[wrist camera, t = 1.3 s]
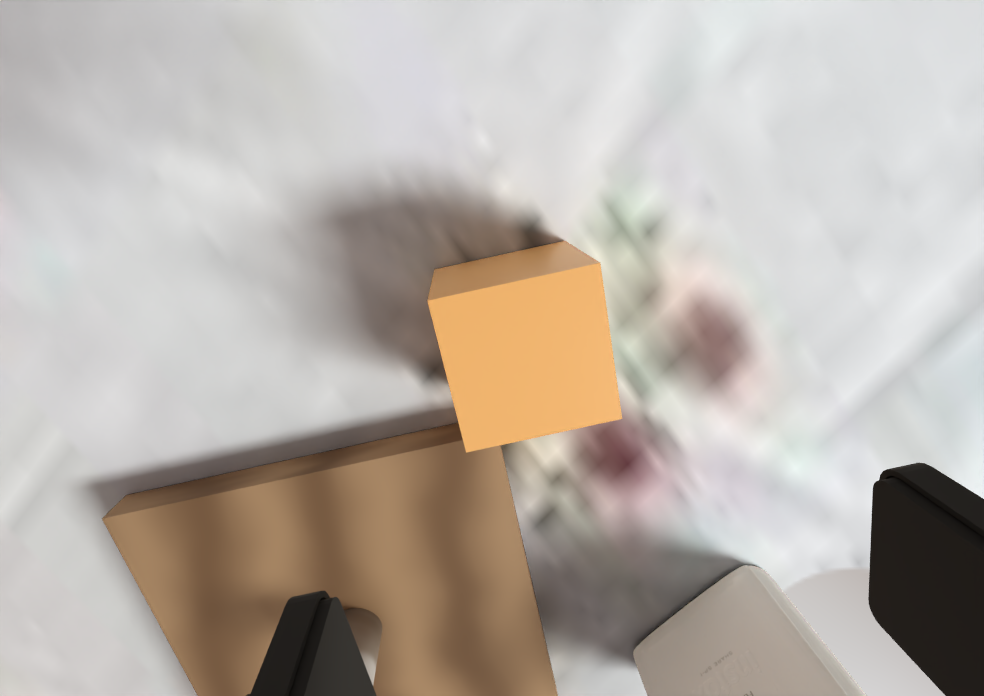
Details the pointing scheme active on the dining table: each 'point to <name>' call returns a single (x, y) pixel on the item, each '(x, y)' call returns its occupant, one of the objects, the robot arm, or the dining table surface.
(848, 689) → the photo printer
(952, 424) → the dining table surface
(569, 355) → the solid orange cube
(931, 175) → the dining table surface
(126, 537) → the board
